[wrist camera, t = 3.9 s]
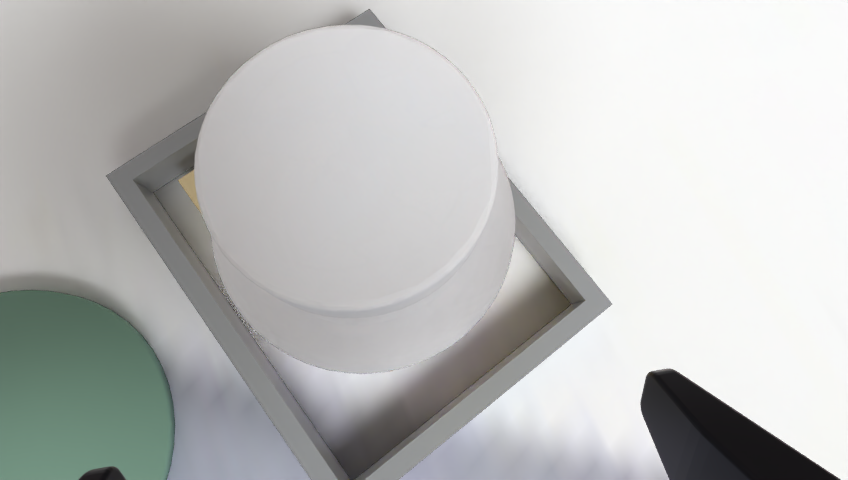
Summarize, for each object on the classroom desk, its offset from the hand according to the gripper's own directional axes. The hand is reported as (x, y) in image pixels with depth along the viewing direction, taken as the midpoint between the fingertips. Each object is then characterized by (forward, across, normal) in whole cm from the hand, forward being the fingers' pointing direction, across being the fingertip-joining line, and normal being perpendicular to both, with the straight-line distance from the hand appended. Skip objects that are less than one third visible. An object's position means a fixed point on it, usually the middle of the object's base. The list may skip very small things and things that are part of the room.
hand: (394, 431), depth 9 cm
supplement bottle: (+11, 0, +5) cm, 12 cm away
